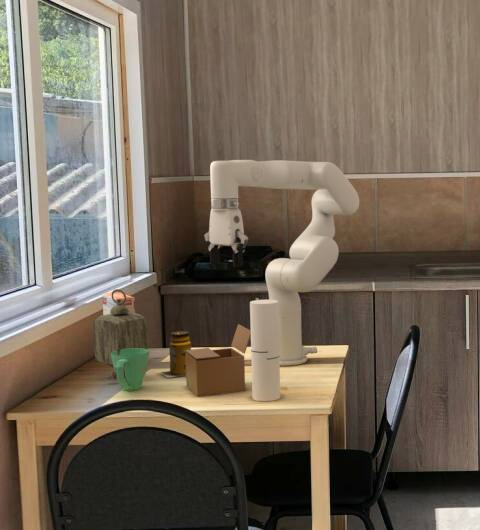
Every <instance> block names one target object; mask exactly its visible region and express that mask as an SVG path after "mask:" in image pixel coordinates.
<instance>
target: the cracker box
mask: <svg viewBox="0 0 480 530" xmlns="http://www.w3.org/2000/svg"><path fill="white" fill-rule="evenodd" d="M125 295H126V301H125V303H124V304H121V305H124V306H126V307H127V309H128V310H129V312H133V313H136V304H135V303H136V302H135V301H136V300H135V297H134V296H131V295H128V294H126V293H125ZM113 298H114V299H115V300H116V301H117V299H120V300H121V302H123V301H124V295H123V294H122V293H121V292H115V293H114V294H113ZM116 305H117V304H116V303H115V302H114V301H113V300H112V292H108V293H107V292H106V293H103V294H102V313H103V314H102V315H108V314H111V313H110V310H111V308H112V307H113V306H116Z"/></svg>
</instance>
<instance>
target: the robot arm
mask: <svg viewBox="0 0 480 530" xmlns="http://www.w3.org/2000/svg"><path fill="white" fill-rule="evenodd" d="M209 167H210V168H209V172H210V176H209V177H210V203H211V204H210V208H211V209H210V215H209V229H208V231H207V232H206V233H205V234H204V240H205V244H206V246H207V250H208V251H209V264H210V266H218V265H221V250H219V249H220V247H221V246H224V247H225V246H226V247H227V246H228V247H231V249H232V251H233V253H232V267H233V268H241V267H244V253H245V249H246V248H247V244H248V241H249V237H248V236H247V235H246V234H245V230H244V229H245V228H244V221H243V215H242V212H241V209H239V205H240V202H239V187H253V188H254V187H255V188H266V189H273V190H274V189H275V190H276V189H277V190H315V192H314V193H313V195H312V196H311V212H312V215H311V221H310V223H309V224H308V225H307V227H306V228H305V229H304V230H303V231H302V232H301V234H300V235H298V237H297V238H296V239H295V241H293V243H292V244H291V245H290V248H289V258H286V257H279V258H274V259H273V260H272V261H270V262H269V263H268V264H267V266H266V268H265V274H264V275H265V282H266V288H267V294H268V300H277V301H278V316H279V358H280V367H283V366H284V367H287V366H298V365H302V364H305V363H306V362H307V361H308V355H309V354H311V355H312V354H317V353H318V347H317V346H312V347H311V346H304V345H303V340H302V339H303V338H302V337H303V336H302V335H303V334H302V333H303V332H302V302H301V297H300V294H299V293H309V292H312V291H313V290H315V288H316V287H318V286H319V284H320V283H321V282H322V280H324V278H325V277H326V276H327V275H328V274H329V272H330V271H331V270H332V269H333V268H334V266H335V265H336V263H337V261H338V258H339V245H338V244H337V242H336V241H335V240H334V238H335V235H336V226H335V219H334V216H351V215H353V214H355V213H357V211H358V210H359V207H360V197H359V194H358V192H357V190H356V188H354V186H353V185H352V183H351V182H350V181H349V179H348V177H347V176H346V175H345V174H344V173H343V171H342V170H341V169H340V168H339V167H338V166H337V165H336V164H335V163H333V162H331V161H303V160H301V161H300V160H287V159H284V160H283V159H281V160H280V159H279V160H278V159H277V160H273V159H272V160H264V161H263V160H261V161H259V160H254V159H229V160H214V161H212V162H211V163H210V166H209Z"/></svg>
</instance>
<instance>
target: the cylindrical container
mask: <svg viewBox="0 0 480 530" xmlns="http://www.w3.org/2000/svg"><path fill="white" fill-rule="evenodd" d="M249 317H250V318H249V319H250V322H249V323H250V330H251V336H250V354H251V355H250V357H251V358H250V359H251V388H252V389H251V390H252V391H251V392H252V394H251V395H252V397H251V398H252V400H254V401H258V402H272V401H276V400H279V399H281V366H280V358H279V316H278V301H277V300H269V299H255V300H251V301H250V302H249Z"/></svg>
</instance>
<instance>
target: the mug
mask: <svg viewBox="0 0 480 530" xmlns="http://www.w3.org/2000/svg"><path fill="white" fill-rule="evenodd" d="M149 357H150V350H149V349H148V350H147V349H142V348H129V349H121V350H120V352H119V355H118V354H117V351H113V352H112V353H111V358H112V362H113V366H112V367H113V370H114V372H115V373H116V379H117V380H116V381H117V383H118V385H119V387H120V388H121V389H122V391H127V392H128V391H129V392H130V391H131V392H132V391H137V390H140V389H141V388H142V385H143V383H144V380H145V376H146V374H147V370H148V365H149V359H150V358H149Z"/></svg>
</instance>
